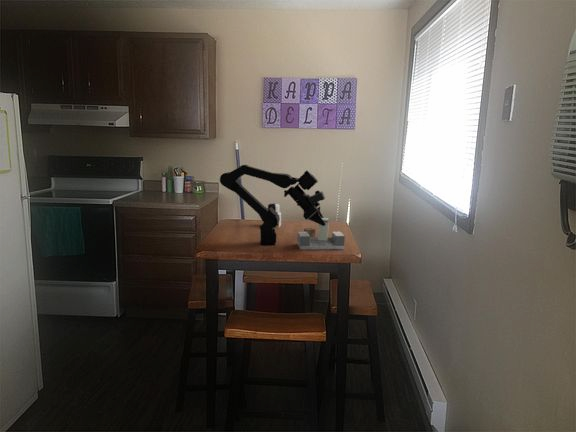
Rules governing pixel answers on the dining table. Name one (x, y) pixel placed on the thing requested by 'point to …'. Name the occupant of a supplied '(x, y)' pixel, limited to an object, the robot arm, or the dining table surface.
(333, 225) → the dining table surface
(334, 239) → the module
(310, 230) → the walnut block
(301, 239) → the block
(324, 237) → the block
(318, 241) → the grey base plate
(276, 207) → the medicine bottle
